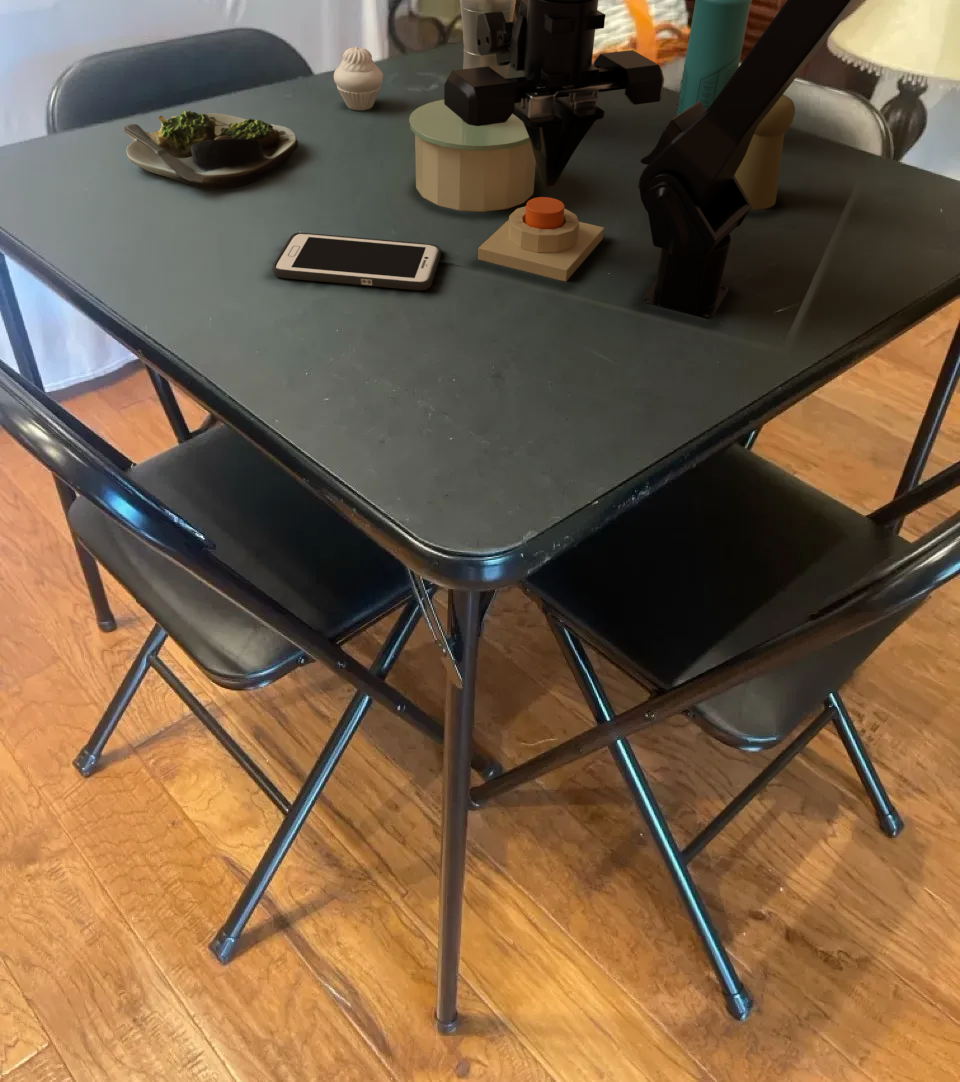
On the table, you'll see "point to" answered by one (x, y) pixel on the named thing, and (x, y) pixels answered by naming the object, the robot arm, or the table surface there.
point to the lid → (464, 130)
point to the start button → (544, 213)
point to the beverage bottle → (712, 50)
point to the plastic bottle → (471, 6)
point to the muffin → (358, 79)
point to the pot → (474, 176)
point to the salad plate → (211, 149)
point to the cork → (766, 156)
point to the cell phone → (358, 261)
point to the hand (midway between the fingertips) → (547, 185)
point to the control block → (542, 245)
